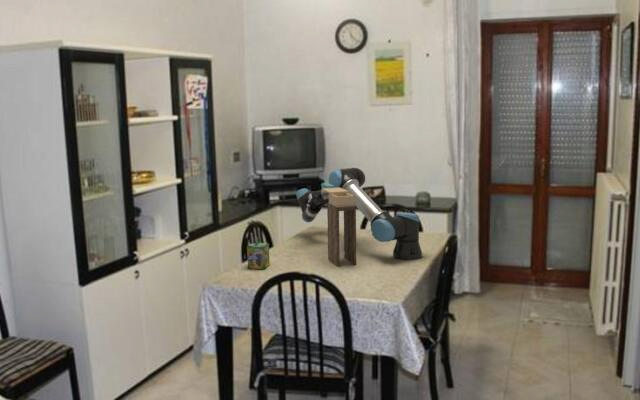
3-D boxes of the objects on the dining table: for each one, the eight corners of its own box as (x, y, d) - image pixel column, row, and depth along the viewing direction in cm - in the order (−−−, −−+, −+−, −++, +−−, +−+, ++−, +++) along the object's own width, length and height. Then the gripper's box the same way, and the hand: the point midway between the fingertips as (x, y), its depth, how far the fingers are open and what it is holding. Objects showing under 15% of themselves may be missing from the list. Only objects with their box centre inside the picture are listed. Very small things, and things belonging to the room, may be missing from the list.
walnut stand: (356, 265, 316) (355, 206, 311) (337, 266, 313) (336, 207, 308) (346, 257, 330) (345, 201, 325) (328, 259, 327) (327, 202, 323)
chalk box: (265, 269, 311) (264, 240, 308) (247, 269, 312) (246, 239, 310) (270, 264, 320) (269, 236, 317) (253, 264, 321) (251, 235, 319)
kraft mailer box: (354, 205, 312) (354, 195, 311) (336, 206, 310) (336, 196, 309) (345, 201, 324) (345, 192, 324) (328, 202, 322) (328, 193, 321)
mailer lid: (348, 192, 320) (348, 188, 320) (329, 193, 318) (329, 189, 317) (333, 186, 344) (333, 182, 343) (315, 187, 341) (315, 183, 340)
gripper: (335, 213, 367) (345, 200, 348) (293, 216, 360) (302, 202, 341) (333, 201, 370) (343, 187, 351) (291, 203, 363) (299, 190, 344)
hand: (322, 195), depth 346 cm, fingers open, 13 cm apart
